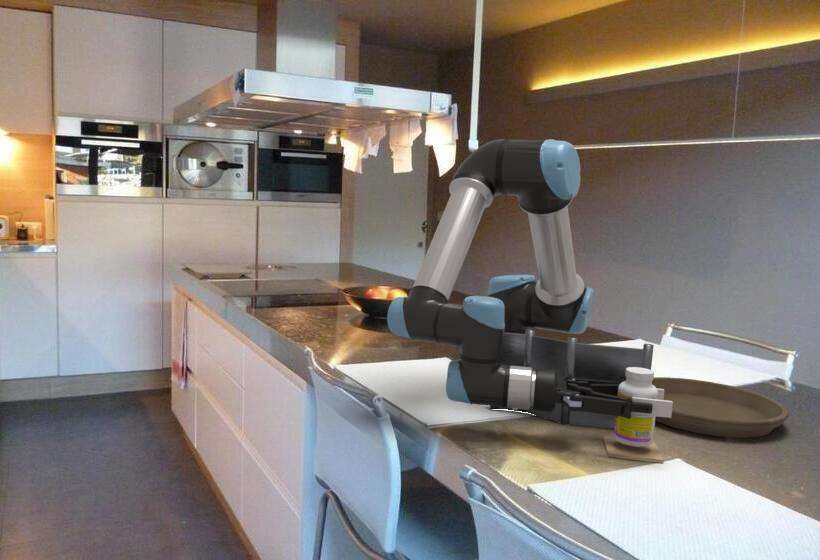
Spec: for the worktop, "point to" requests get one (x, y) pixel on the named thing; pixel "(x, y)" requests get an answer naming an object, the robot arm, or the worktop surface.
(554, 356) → the grey ribbed panel
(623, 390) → the supplement bottle
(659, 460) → the coaster
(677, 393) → the plant saucer
